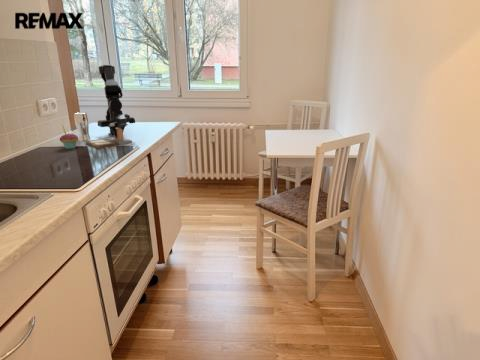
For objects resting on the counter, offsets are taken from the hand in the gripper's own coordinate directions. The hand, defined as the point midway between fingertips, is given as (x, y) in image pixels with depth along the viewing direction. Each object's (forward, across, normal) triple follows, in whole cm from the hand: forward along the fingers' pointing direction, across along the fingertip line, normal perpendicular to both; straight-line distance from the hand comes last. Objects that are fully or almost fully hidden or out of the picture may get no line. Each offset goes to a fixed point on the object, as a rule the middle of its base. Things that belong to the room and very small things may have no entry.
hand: (118, 137), depth 182 cm
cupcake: (+3, -24, +6) cm, 24 cm away
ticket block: (+2, -10, 0) cm, 10 cm away
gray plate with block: (+2, 0, 0) cm, 2 cm away
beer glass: (+3, -12, +20) cm, 23 cm away
